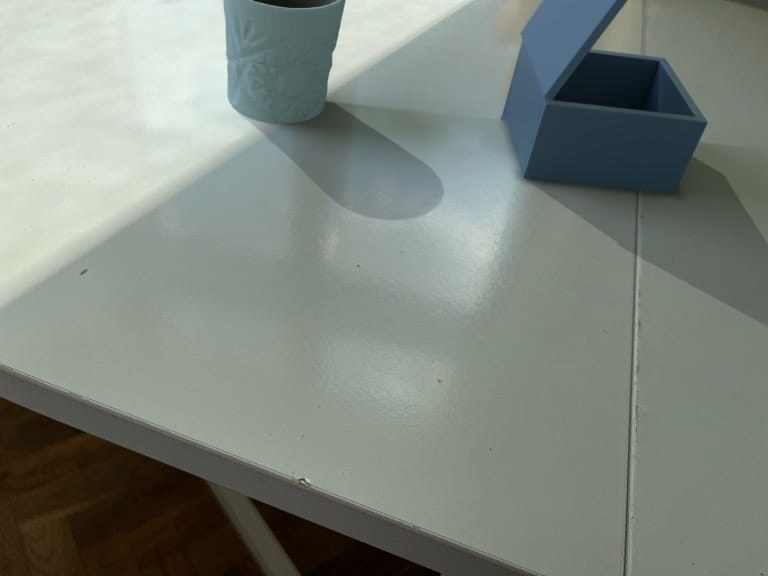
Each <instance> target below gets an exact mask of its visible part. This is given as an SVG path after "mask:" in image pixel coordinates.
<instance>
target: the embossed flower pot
mask: <svg viewBox="0 0 768 576" xmlns="http://www.w3.org/2000/svg"><path fill="white" fill-rule="evenodd" d="M346 1H347V0H222V2H223V13H224V21H225V56H226V60H227V61H226V62H227V63H226V71H227V81H226V82H227V84H226V85H227V87H226V88H227V89H226V91H227V92H226V93H227V95H226V96H227V101H228V103H229V104H230V106H231V107H232V108H233V109H234V110H235V111H236V112H238V113H239V114H240V115H242V116H245V117H247V118H249V119H252V120H254V121H259V122H262V123H268V124H278V125H287V124H291V125H292V124H298V123H303V122H305V121H306V122H307V121H310V120H312V119H315V118H316V117H317V116H319V115H320V114H321V113H322V112H323V110H324V109H325V105H326V101H327V96H328V91H329V89H328V88H329V87H328V85H329V84H328V83H329V82H328V81H329V78H330V73H331V70H332V67H333V54H334V52H335V49H336V48H337V44H338V39H339V32H340V29H341V23H342V19H343V15H344V10H345V5H346Z"/></svg>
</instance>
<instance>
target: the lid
mask: <svg viewBox="0 0 768 576" xmlns="http://www.w3.org/2000/svg"><path fill="white" fill-rule="evenodd" d="M628 1H629V0H542V1H541V2H540V4H539V5H538V7H537V8H536V10H534V13H533V14H532V15H531V17H530V18H529V20H528V21H527V23H526V24H525V25H524V27H523V28H522V30H521V31H520V33H519V34H520V36H521V39H522V41H523V42H524V45H525V47H526V50H527V53H528V55H529V58H530V60H531V63H532V66H533V68H534V71H535V74H536V76H537V79H538V82H539V84H540V87H541V89H542V92H543V95H544V97H546V98H548V99H550V100H552V99H553V98H554V97H555V96H556V94H557V93H558V92H559V90H560V89H561V88H562V86H563V85H564V84H565V82H566V81H567V80H568V78H569V77H570V76H571V74H572V73H573V72H574V71H575V69H576V68H577V67H578V65H579V64H580V63H581V61H582V60H583V59H584V57H585V56H586V55H587V53H588V52H589V51H590V49H593V47H594V46H595V44H596V43H597V41H598V40H599V39H600V38H601V36H602V35H603V34H604V32H605V31H606V30H607V28H608V27H609V26H610V25H611V23H612V22H613V21H614V19H615V18H616V16H617V15H618V14H619V13H620V11H621V10H622V9H623V7H624V6H625V5H626V4H627V2H628Z"/></svg>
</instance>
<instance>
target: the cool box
mask: <svg viewBox="0 0 768 576" xmlns="http://www.w3.org/2000/svg"><path fill="white" fill-rule="evenodd" d="M500 121H502V122H506V124H507V127H508V131H509V134H510V137H511V141H512V145H513V148H514V151H515V154H516V158H517V161H518V164H519V168H520V171H521V175H522V178H523V179H526V180H527V179H528V180H537V181H538V180H539V181H549V182H559V183H567V184H577V185H586V186H587V185H588V186H596V187H597V186H598V187H606V188H607V187H609V188H616V189H617V188H618V189H627V190H637V191H645V192H646V191H648V192H655V193H656V192H657V193H667V194H675V193H676V191H677V189H678V187H679V185H680V184H681V181H682V179H683V177H684V174H685V172H686V170H687V168H688V166H689V164H690V161H691V160H692V157H693V155H694V153H695V151H696V149H697V147H698V144H699V142H700V140H701V139H702V136H703V134H704V132H705V130H706V128H707V125H708V123H709V122H708V120H707V119H706V117H705V116H704V115H703V112H702V111H701V110H700V108H699V107H698V105H697V104H696V102H695V100H694V99H693V98H692V96H691V95H690V93H689V92H688V90H687V88H686V87H685V85H684V84H683V82H682V81H681V79H680V78H679V77H678V75H677V74H676V72H675V70H674V69H673V68H672V66H671V64H670V63H669V62H668V60H667V59H666V58H665V57H660V56H649V55H643V54H635V53H626V52H617V51H611V50H602V49H594V48H591V49H590V51H589V52H588V53H587V55H586V56H585V57H584V59H583V60H582V61H581V63H580V64H579V65H578V67H577V68H576V69H575V71H574V72H573V73H572V74H571V76H570V77H569V78H568V80H567V81H566V82H565V84H564V85H563V86H562V88H561V89H560V90H559V92H558V93H557V94H556V96H555V97H554V98H553V99H552V100H550V99H548V98H546V97H544V95H543V92H542V89H541V87H540V84H539V82H538V79H537V76H536V74H535V71H534V68H533V66H532V63H531V60H530V58H529V55H528V53H527V50H526V47H525V45H524V42H523V40H522V41H521V44H520V47H519V51H518V54H517V58H516V62H515V65H514V70H513V73H512V77H511V80H510V84H509V87H508V92H507V95H506V99H505V103H504V106H503V110H502V114H501V118H500Z"/></svg>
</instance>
